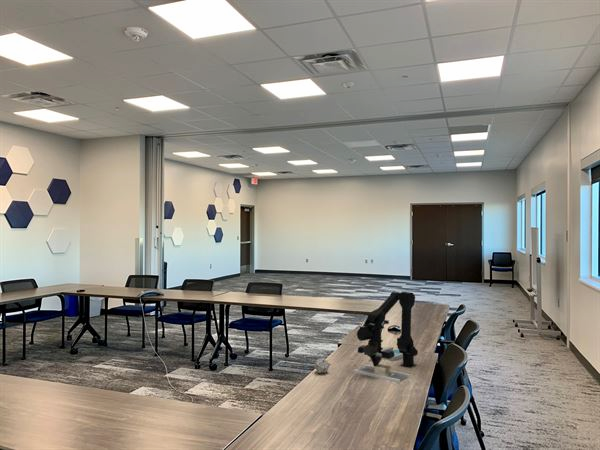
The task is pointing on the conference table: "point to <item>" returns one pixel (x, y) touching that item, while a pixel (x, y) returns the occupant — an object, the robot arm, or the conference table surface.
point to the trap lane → (394, 376)
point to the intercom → (396, 354)
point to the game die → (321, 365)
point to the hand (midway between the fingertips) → (375, 368)
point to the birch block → (383, 370)
